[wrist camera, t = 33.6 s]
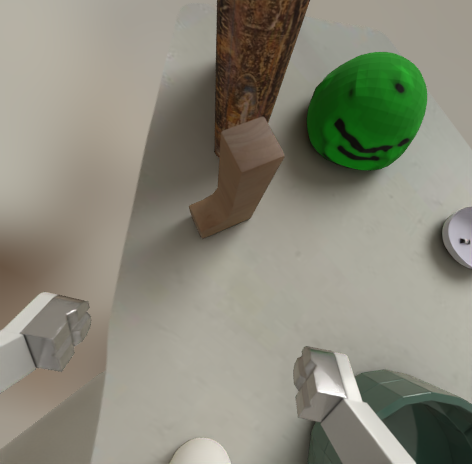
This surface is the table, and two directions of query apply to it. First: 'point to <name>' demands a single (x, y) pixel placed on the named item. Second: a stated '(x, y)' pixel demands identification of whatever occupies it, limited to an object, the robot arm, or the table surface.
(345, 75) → the toy
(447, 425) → the bowl
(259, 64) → the book
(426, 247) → the table surface
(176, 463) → the cup
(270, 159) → the wooden block
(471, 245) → the white shallow round dish
